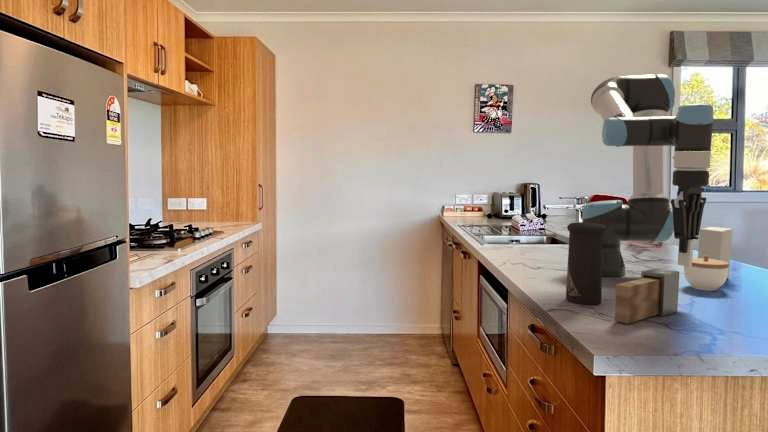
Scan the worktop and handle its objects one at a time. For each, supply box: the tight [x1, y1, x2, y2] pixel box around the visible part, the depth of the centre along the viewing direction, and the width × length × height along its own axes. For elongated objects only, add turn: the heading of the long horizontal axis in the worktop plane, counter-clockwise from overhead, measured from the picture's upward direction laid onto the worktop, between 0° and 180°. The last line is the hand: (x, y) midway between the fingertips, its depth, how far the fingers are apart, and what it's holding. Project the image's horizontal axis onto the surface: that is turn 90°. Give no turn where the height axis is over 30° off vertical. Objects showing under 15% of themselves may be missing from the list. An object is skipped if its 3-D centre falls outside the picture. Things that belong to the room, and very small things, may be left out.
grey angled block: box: [640, 267, 680, 317], centre depth 117 cm, size 7×5×9 cm
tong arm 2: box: [620, 277, 662, 325], centre depth 112 cm, size 18×1×8 cm, turn 125°
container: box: [565, 221, 606, 306], centre depth 126 cm, size 9×9×20 cm
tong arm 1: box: [614, 276, 658, 323], centre depth 113 cm, size 18×1×8 cm, turn 125°
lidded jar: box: [683, 255, 729, 292], centre depth 141 cm, size 11×11×9 cm
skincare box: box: [697, 226, 734, 280], centre depth 154 cm, size 8×7×16 cm
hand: (684, 265), depth 125 cm, fingers closed
